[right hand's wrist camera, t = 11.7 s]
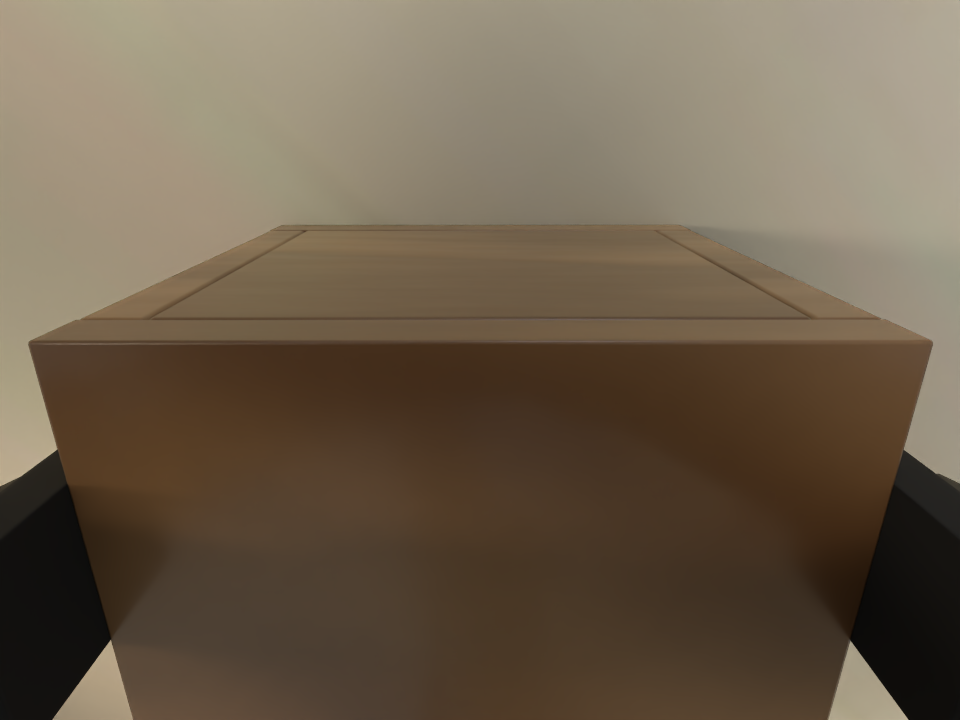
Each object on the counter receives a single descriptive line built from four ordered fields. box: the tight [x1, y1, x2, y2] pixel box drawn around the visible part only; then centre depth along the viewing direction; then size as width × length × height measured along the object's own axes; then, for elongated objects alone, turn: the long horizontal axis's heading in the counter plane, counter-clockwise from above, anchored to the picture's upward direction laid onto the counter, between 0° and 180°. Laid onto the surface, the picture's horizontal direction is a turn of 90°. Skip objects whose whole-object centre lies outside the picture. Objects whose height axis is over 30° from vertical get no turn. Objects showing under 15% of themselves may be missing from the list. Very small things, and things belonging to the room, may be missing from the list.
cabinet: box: [28, 225, 933, 720], centre depth 15 cm, size 19×11×10 cm, turn 0°
